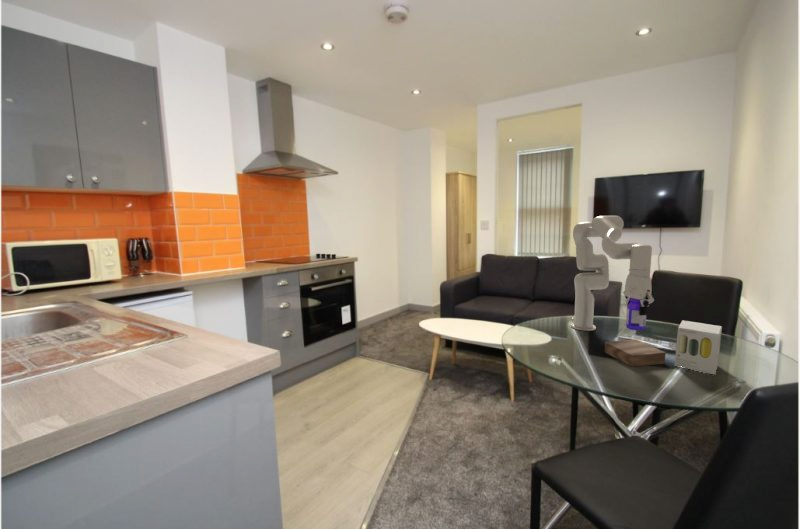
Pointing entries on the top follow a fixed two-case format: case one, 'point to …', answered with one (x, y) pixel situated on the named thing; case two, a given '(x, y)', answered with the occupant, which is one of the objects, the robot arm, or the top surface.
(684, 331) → the supplement box
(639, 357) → the plinth
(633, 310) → the bottle
